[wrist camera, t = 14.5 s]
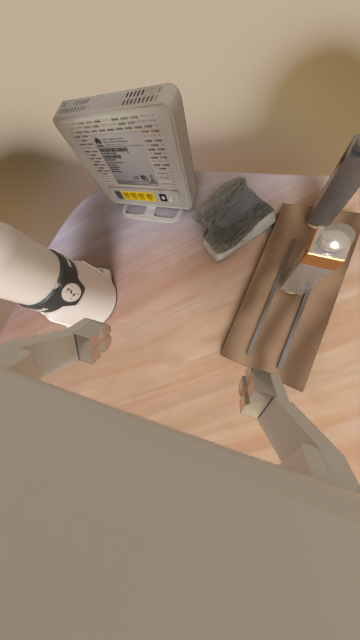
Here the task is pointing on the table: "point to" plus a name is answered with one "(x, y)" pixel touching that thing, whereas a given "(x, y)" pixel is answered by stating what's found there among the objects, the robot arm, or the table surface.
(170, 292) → the table surface
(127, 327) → the table surface
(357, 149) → the fixed leg
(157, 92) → the network device
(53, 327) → the table surface
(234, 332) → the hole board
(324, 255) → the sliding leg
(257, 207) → the fossil
